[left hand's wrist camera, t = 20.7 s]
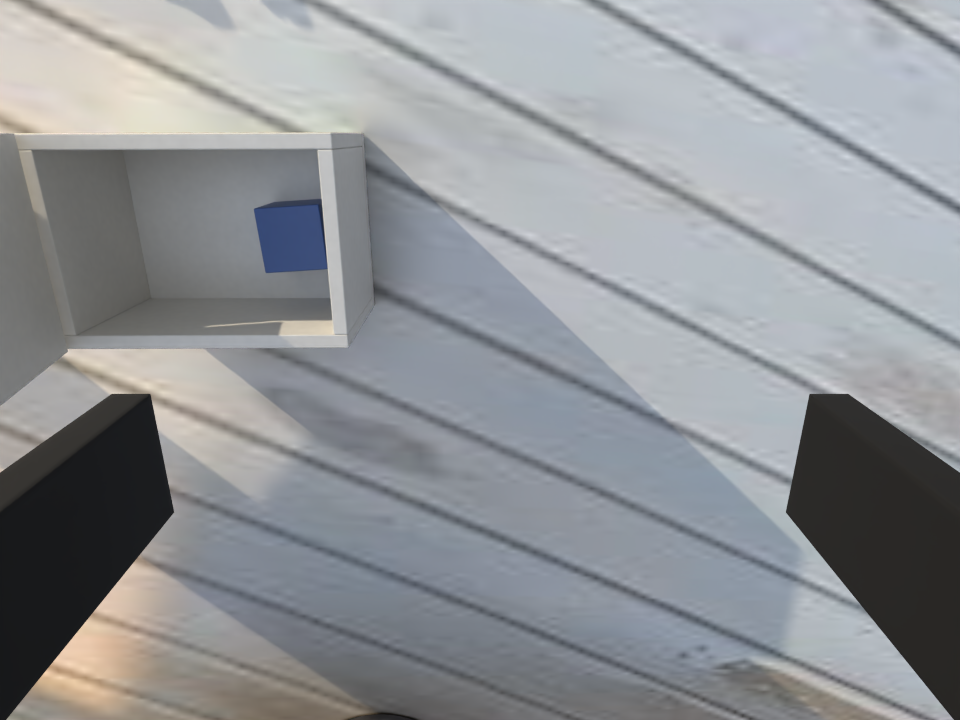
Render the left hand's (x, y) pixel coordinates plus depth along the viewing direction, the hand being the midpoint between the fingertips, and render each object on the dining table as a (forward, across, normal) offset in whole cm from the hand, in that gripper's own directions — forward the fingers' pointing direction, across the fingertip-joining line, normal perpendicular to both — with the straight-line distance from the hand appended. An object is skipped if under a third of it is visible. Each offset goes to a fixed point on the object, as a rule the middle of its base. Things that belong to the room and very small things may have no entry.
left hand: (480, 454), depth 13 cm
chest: (+34, +16, 0) cm, 38 cm away
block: (+33, +12, 0) cm, 35 cm away
